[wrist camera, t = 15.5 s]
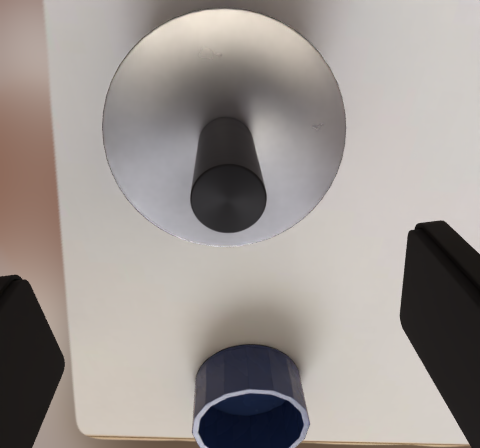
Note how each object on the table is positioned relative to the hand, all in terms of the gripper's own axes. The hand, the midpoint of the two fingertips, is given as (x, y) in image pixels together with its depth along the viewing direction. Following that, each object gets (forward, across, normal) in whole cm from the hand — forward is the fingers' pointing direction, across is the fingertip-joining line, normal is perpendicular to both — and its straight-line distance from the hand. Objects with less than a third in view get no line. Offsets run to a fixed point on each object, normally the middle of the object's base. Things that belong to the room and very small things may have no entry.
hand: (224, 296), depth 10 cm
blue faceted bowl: (+22, +1, +30) cm, 37 cm away
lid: (+12, 0, 0) cm, 12 cm away
